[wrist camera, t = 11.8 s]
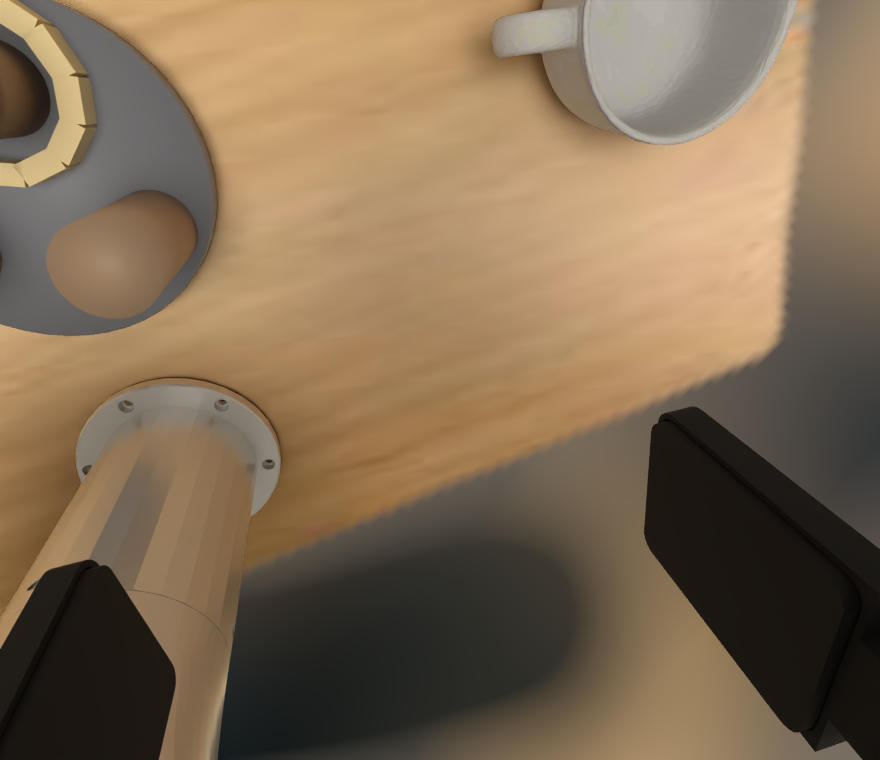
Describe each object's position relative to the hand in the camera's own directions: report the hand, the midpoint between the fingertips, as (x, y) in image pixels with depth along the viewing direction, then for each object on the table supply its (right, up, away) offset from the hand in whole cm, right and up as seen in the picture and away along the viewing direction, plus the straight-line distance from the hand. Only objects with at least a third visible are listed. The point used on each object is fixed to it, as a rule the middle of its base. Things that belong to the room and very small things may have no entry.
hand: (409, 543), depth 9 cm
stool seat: (-20, +13, +18) cm, 30 cm away
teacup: (+9, +23, +21) cm, 32 cm away
